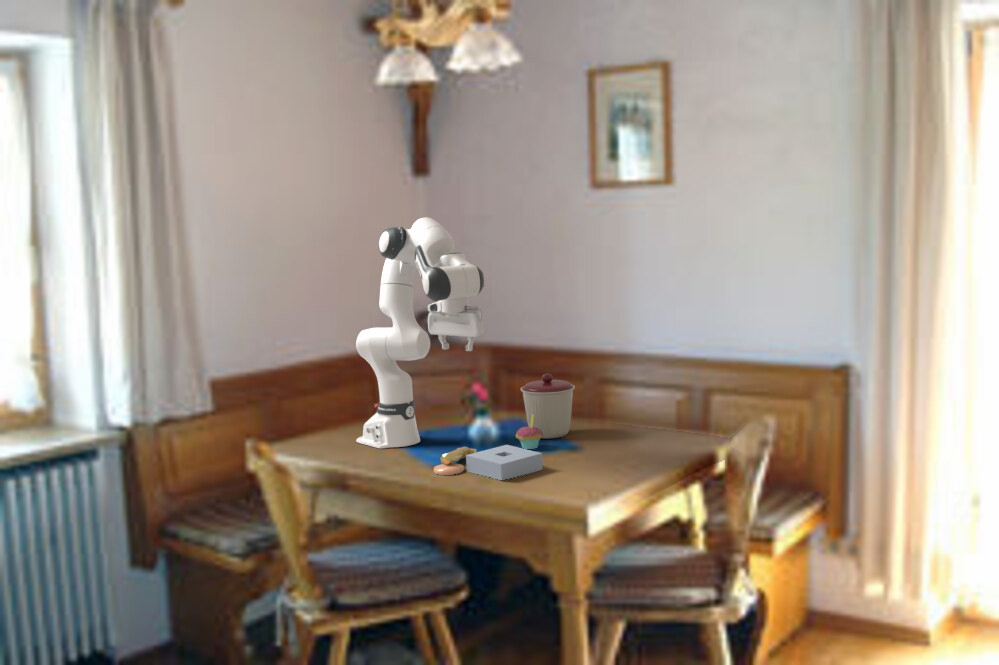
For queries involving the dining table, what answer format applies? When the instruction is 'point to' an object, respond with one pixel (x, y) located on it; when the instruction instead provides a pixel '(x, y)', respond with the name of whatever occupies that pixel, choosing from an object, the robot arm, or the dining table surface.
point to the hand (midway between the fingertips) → (457, 350)
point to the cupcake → (529, 436)
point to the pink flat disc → (448, 469)
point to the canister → (549, 405)
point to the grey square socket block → (504, 462)
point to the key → (456, 455)
